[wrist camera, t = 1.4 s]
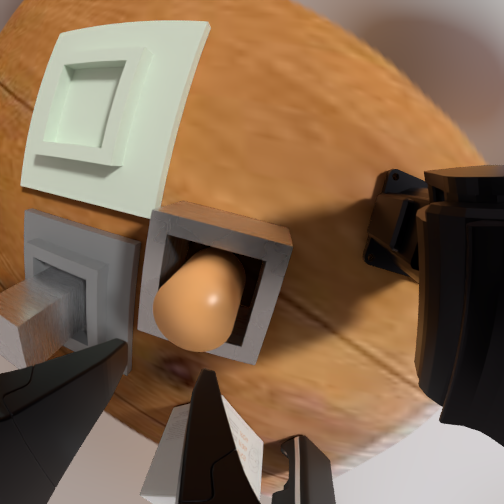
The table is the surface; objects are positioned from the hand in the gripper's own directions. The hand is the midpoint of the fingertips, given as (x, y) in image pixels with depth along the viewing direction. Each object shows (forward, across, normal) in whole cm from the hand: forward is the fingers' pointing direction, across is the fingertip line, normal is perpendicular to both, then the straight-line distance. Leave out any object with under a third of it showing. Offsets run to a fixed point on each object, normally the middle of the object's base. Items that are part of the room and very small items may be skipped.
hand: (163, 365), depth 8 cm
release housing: (+11, 0, 0) cm, 11 cm away
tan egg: (+9, 0, 0) cm, 9 cm away
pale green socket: (+11, +12, -9) cm, 19 cm away
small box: (+11, -3, +16) cm, 20 cm away
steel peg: (+10, +12, +6) cm, 17 cm away
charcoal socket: (+11, +12, +6) cm, 17 cm away
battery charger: (+11, -12, +18) cm, 24 cm away
